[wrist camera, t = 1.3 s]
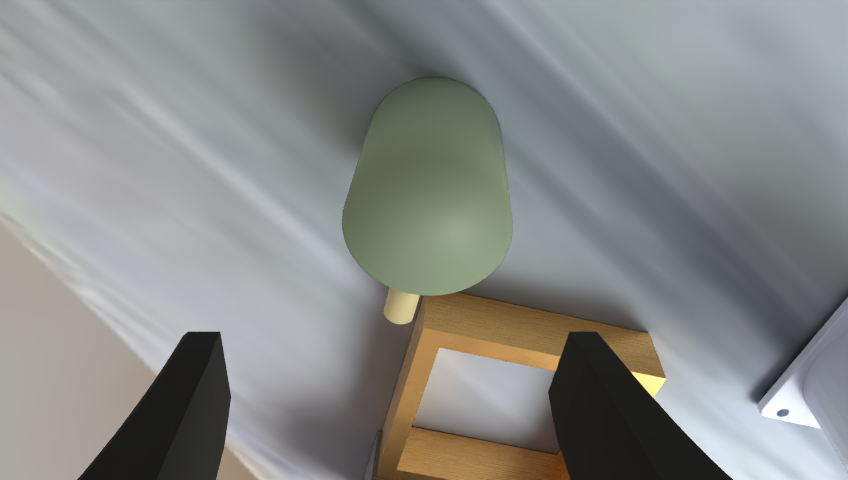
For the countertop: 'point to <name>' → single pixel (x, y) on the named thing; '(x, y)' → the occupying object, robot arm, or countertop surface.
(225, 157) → the countertop surface
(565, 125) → the countertop surface
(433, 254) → the spout can
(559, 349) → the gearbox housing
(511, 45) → the countertop surface
